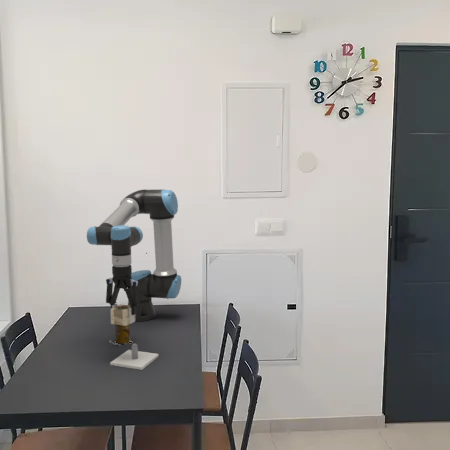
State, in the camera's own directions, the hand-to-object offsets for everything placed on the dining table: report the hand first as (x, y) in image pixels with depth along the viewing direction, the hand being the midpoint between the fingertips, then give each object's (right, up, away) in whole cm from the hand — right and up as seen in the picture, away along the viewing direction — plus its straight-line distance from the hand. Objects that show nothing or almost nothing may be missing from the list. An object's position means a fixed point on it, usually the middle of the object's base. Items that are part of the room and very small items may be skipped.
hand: (123, 321), depth 210 cm
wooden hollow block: (0, 0, 0) cm, 0 cm away
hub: (+4, -16, 0) cm, 16 cm away
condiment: (-5, -13, +21) cm, 25 cm away
